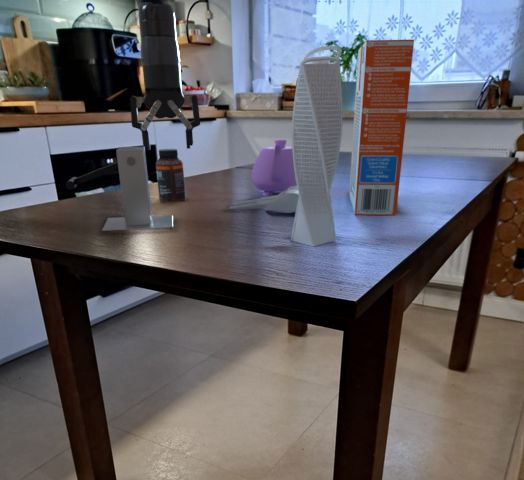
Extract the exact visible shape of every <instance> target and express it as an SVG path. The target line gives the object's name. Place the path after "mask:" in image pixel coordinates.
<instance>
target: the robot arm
mask: <svg viewBox="0 0 524 480" xmlns="http://www.w3.org/2000/svg"><path fill="white" fill-rule="evenodd" d="M136 5H137V8H138V9H137V10H138V11H137V12H138V23H139V34H140V56H141V57H140V61H141V66H142V75H143V85H144V86H143V87H144V95H143V96H135V95H131V96H130V97H129V98H130V99H129V101H130V103H129V104H130V118H131V119H130V120H131V126H132V128H134V129H137V130H139V131H140V132H141V138H142V139H141V140H142V145H143V147H145V148H146V151H151V140H150V131H149V130H148V129H149V128H148V127H149V126H150V124H151V122H152V121H153V119H154V118H157V119H159V120H160V119H165V118H167V119H174V118H176V117H177V118H178V119H179V121H180V122H181V123H182V124H183V126H184V127H185V143H186V149H187V150H189V149H190V150H191V146H193V144H194V136H193V129H195V128H197V127H199V126H200V125H201V118H200V108H199V100H198V96H197V95H196V94H192V95H186V96H184V94H183V90H182V89H183V88H182V75H181V63H180V62H181V58H180V50H179V44H178V38H177V28H176V15H175V9H174V8H173V6H172V4H171V3H170V0H136ZM185 103H187V105H188V106H189V107H190V108H191V109H192V117H193V120H191V121H189V119H188V118H187V117H186V116H185V115H184V113H183V111H181V110H182V108H183V106H184V104H185ZM142 104H144V105H145V106H146V108H148V110H149V112H148V114H147V115H146V116H145V118H144V120H143V122H139V114H138V113H139V112H138V109H140V108H141V106H142Z"/></svg>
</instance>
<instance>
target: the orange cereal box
mask: <svg viewBox="0 0 524 480" xmlns="http://www.w3.org/2000/svg"><path fill="white" fill-rule="evenodd" d="M414 47H415V39H375V40H374V39H371V40H365V42H364V43H363V44H362V45H361V46H360V47H359V49H358V50H357V51H358V53H357V63H356V79H355V80H356V81H355V97H354V110H353V111H354V113H353V128H352V144H351V145H352V147H351V158H350V159H351V161H350V174H349V176H350V177H349V193H348V194H349V200H350V204H351V207H352V211H353V214H354V216H380V217H381V216H382V217H383V216H384V217H385V216H386V217H387V216H388V217H390V216H391V217H393V216H394V217H397V212H398V211H397V210H398V200H399V192H400V191H399V190H400V181H401V171H402V170H401V169H402V162H403V161H402V160H403V151H404V142H405V134H406V133H405V132H406V125H407V124H406V123H407V113H408V104H409V103H408V102H409V93H410V85H411V76H412V65H413V55H414Z"/></svg>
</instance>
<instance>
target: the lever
mask: <svg viewBox="0 0 524 480" xmlns="http://www.w3.org/2000/svg"><path fill="white" fill-rule="evenodd" d="M116 170H119V169H118V161H116V162H113V163H111V164H108V165H106V166H103V167H101V168H98V169H95V170H94V171H90V172H88V173H86V174H83V175H81V176H78V177H77V176H72V177H71V178H70V179H69V180H67V181H66V182H65V187H66V189H67V190H70V191H72V190H75V188H76V187H77V186H80V184H83V183H86V182H89V181H91V180H94V179H96V178H99V177H102V176H104V175H106V174H109V173H111V172H113V171H116Z"/></svg>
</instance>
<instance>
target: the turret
mask: <svg viewBox="0 0 524 480" xmlns="http://www.w3.org/2000/svg"><path fill="white" fill-rule="evenodd" d="M298 199H299V194H298V189H297V186H291V187H289V188H287V189H286V190H284V191H283V192H280V193H278V194H275V195H274V194H272V195H269V196H260V197H258V198H251V199H247V200H246V199H244V200H237V201H235V202H233V204H232V205H231V206H229V207H228V210H262V211H263V210H264V211H265V213H266V214H283V213H284V214H291V213H294V214H296V209H297V204H298Z"/></svg>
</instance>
